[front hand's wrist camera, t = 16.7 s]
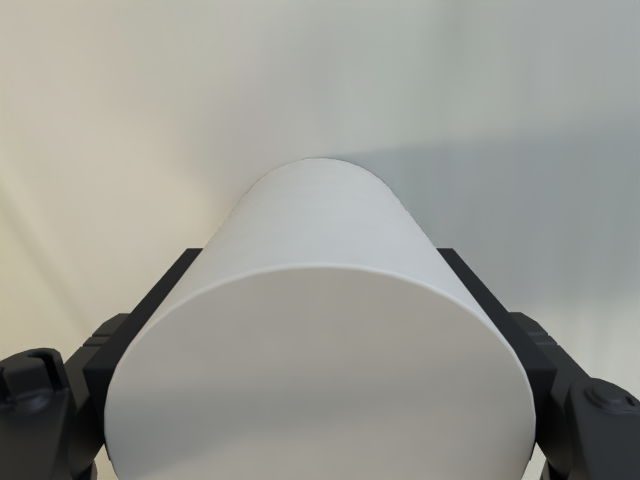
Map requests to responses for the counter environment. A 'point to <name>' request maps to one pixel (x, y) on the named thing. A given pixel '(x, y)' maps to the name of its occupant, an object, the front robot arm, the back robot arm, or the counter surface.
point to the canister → (319, 351)
